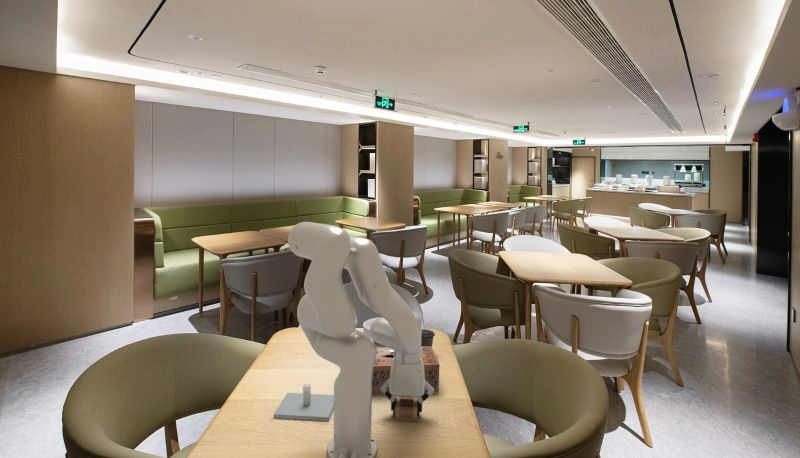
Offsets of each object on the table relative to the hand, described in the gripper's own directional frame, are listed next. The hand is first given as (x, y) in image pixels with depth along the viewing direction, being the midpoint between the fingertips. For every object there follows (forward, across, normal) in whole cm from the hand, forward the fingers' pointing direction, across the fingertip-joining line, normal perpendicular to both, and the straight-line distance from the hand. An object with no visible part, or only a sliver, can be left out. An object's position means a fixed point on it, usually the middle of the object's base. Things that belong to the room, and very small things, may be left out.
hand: (406, 412), depth 122 cm
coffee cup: (+1, +5, +42) cm, 42 cm away
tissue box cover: (+1, -4, +19) cm, 19 cm away
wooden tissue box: (+1, 0, 0) cm, 1 cm away
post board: (+1, -30, +1) cm, 30 cm away
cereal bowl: (+1, -13, +57) cm, 58 cm away
